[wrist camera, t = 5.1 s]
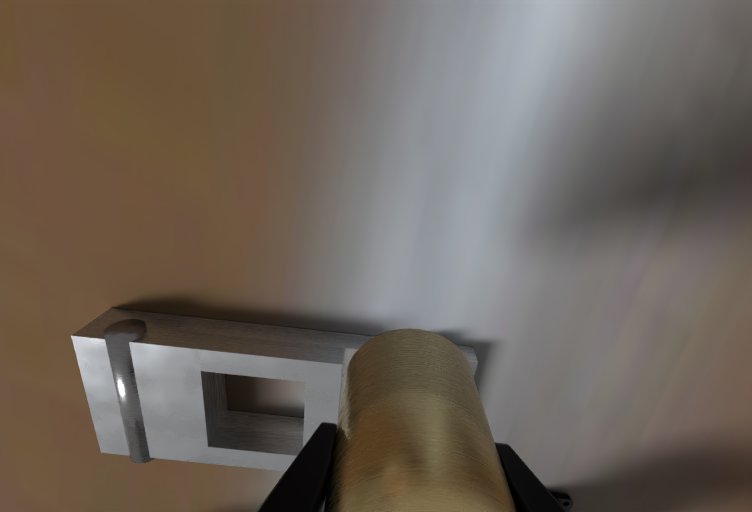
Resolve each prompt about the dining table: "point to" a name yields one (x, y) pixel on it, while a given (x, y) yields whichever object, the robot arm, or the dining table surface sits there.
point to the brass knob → (414, 432)
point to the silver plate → (207, 386)
